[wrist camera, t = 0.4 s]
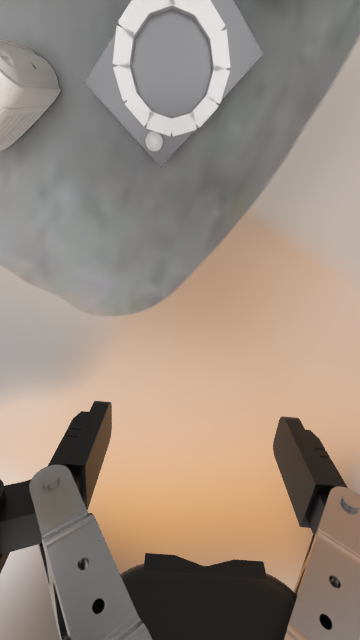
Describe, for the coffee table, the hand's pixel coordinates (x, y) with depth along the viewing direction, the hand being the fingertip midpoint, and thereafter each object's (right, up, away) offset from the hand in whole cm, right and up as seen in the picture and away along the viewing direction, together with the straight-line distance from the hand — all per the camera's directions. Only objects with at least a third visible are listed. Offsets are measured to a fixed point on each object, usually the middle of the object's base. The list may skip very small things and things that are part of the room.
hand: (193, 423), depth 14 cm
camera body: (-1, +29, +14) cm, 32 cm away
